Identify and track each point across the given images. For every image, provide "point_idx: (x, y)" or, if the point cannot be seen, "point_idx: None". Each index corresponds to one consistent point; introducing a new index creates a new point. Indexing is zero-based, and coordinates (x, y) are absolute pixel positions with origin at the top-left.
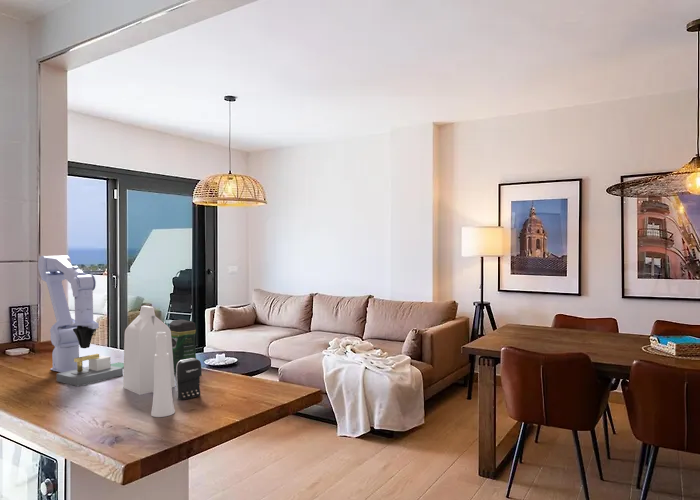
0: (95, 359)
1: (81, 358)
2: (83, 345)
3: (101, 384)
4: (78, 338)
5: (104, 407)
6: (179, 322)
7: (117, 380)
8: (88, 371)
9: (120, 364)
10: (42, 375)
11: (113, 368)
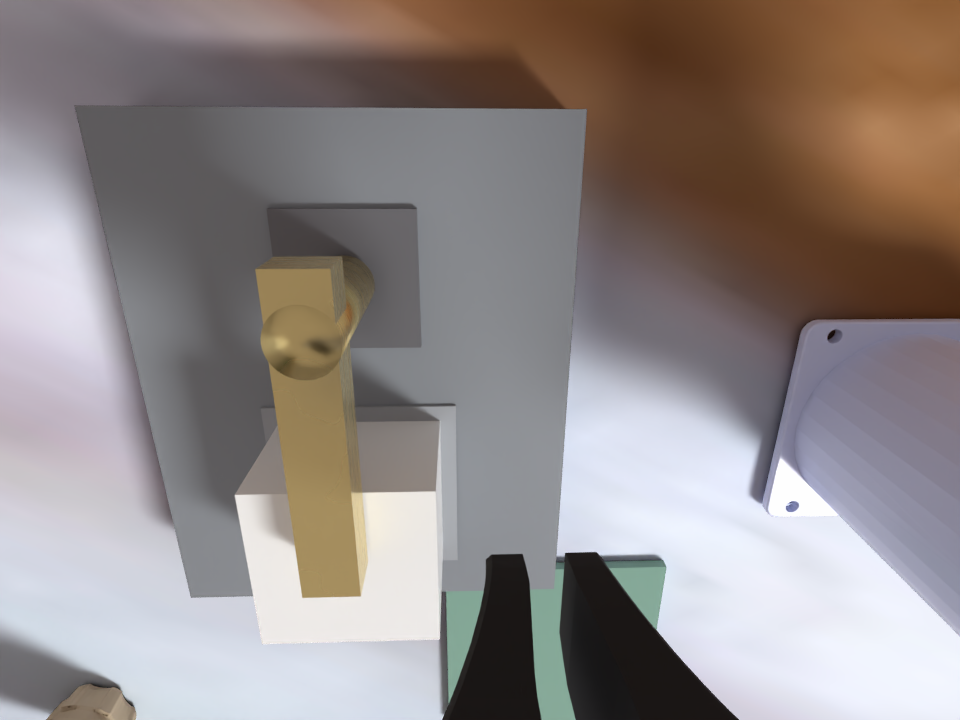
0: (272, 497)
1: (265, 348)
2: (485, 591)
3: (19, 290)
4: (659, 691)
5: None
6: None
7: (62, 441)
8: None
9: (560, 693)
10: (955, 162)
11: None
